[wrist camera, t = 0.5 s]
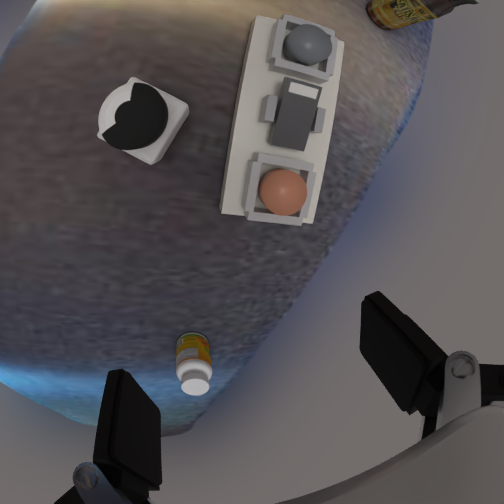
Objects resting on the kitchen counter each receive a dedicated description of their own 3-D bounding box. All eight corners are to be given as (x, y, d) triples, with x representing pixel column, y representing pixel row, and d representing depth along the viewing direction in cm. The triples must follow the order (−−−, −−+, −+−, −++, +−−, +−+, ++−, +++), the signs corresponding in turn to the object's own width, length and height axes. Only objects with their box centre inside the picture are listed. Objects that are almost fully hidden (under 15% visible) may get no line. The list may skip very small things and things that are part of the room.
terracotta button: (261, 164, 29) (267, 167, 27) (302, 172, 30) (311, 174, 28) (254, 207, 31) (259, 213, 29) (294, 212, 32) (302, 218, 30)
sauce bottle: (361, 15, 26) (451, -23, 8) (369, -5, 24) (452, -42, 6) (392, 39, 28) (485, 17, 10) (399, 18, 26) (484, -5, 9)
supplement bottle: (211, 351, 44) (217, 395, 35) (181, 356, 43) (182, 400, 35) (205, 328, 42) (210, 373, 33) (172, 333, 41) (171, 378, 32)
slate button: (286, 26, 23) (293, 18, 20) (324, 38, 24) (334, 32, 22) (280, 59, 25) (287, 53, 22) (320, 71, 26) (329, 67, 24)
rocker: (284, 76, 25) (288, 77, 23) (317, 86, 26) (322, 87, 24) (267, 141, 29) (271, 145, 28) (299, 147, 30) (304, 151, 29)
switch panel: (251, 23, 25) (262, 5, 20) (334, 47, 28) (355, 36, 23) (219, 207, 35) (224, 220, 30) (304, 217, 38) (321, 230, 33)
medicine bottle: (190, 112, 29) (188, 96, 18) (160, 161, 31) (142, 171, 20) (143, 87, 27) (118, 62, 16) (114, 136, 28) (76, 136, 17)
